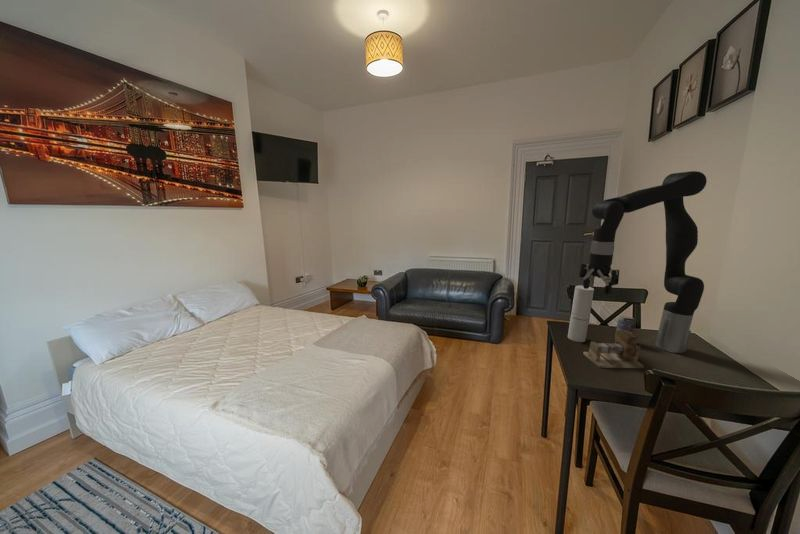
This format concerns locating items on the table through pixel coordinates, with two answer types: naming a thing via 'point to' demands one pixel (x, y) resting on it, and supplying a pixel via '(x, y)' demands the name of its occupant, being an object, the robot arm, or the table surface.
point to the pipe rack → (611, 356)
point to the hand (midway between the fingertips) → (596, 291)
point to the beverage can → (625, 324)
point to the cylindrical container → (580, 313)
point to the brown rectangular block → (626, 344)
